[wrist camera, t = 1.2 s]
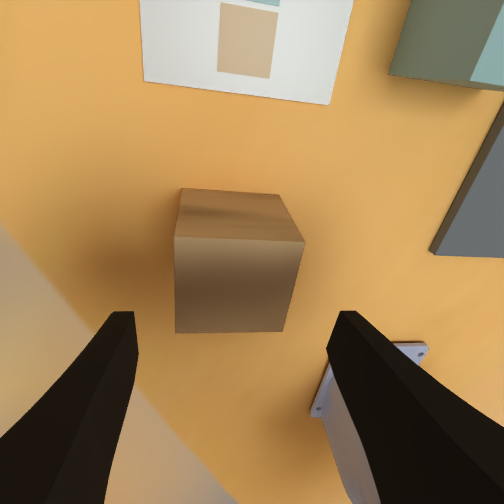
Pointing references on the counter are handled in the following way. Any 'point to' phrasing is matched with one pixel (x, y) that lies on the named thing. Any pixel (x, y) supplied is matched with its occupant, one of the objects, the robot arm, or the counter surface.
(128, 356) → the robot arm
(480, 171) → the baseplate
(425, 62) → the teal block
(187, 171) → the counter surface
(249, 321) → the brown wooden cube
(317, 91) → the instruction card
